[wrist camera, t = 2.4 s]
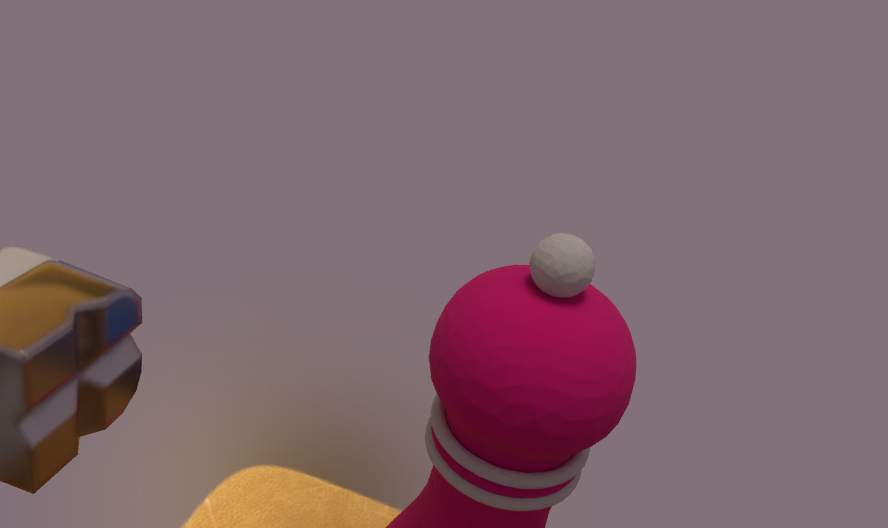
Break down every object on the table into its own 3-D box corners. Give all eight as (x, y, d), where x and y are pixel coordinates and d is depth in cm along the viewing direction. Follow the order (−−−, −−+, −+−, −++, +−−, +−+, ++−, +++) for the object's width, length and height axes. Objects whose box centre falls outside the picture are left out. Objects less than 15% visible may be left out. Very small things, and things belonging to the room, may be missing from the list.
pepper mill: (508, 607, 35) (662, 200, 25) (529, 785, 29) (745, 335, 19) (343, 590, 34) (435, 160, 24) (327, 770, 28) (443, 289, 18)
